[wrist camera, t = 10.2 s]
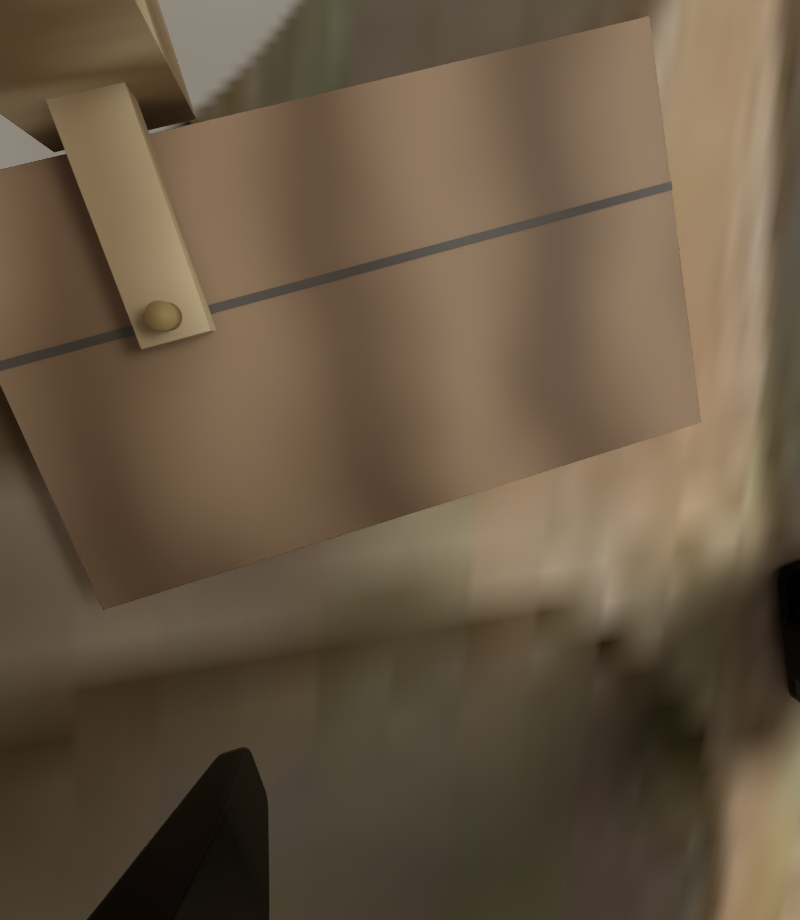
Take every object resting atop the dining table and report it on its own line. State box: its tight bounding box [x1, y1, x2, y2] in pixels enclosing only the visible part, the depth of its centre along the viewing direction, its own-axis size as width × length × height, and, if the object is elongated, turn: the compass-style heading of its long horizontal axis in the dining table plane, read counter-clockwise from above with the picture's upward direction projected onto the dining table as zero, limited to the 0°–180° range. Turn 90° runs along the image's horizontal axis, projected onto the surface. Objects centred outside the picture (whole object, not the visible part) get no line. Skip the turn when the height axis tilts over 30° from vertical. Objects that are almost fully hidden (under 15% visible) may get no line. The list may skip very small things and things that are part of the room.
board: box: [0, 16, 701, 610], centre depth 17 cm, size 20×12×2 cm, turn 105°
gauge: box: [0, 0, 217, 349], centre depth 12 cm, size 4×9×8 cm, turn 15°
